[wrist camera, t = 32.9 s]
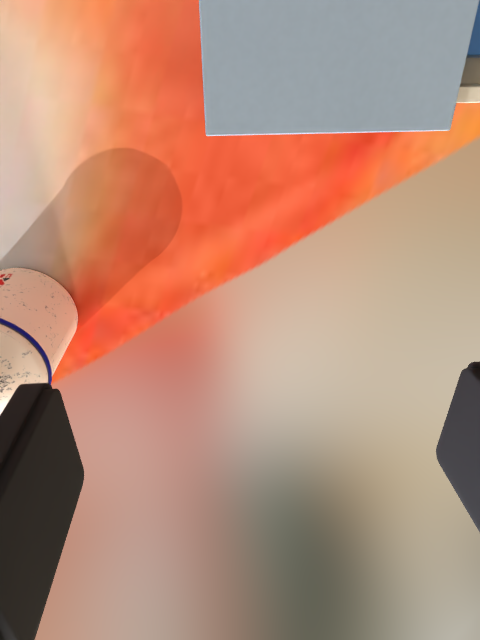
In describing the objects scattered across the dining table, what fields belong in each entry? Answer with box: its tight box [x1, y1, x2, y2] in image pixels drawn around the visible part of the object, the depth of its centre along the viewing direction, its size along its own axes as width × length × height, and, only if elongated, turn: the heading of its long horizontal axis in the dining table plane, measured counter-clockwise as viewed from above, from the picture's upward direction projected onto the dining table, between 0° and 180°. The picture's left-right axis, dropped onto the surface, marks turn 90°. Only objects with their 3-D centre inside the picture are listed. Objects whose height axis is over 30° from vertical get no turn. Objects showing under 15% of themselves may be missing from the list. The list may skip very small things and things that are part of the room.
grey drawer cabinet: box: [199, 0, 479, 136], centre depth 24 cm, size 14×12×9 cm
